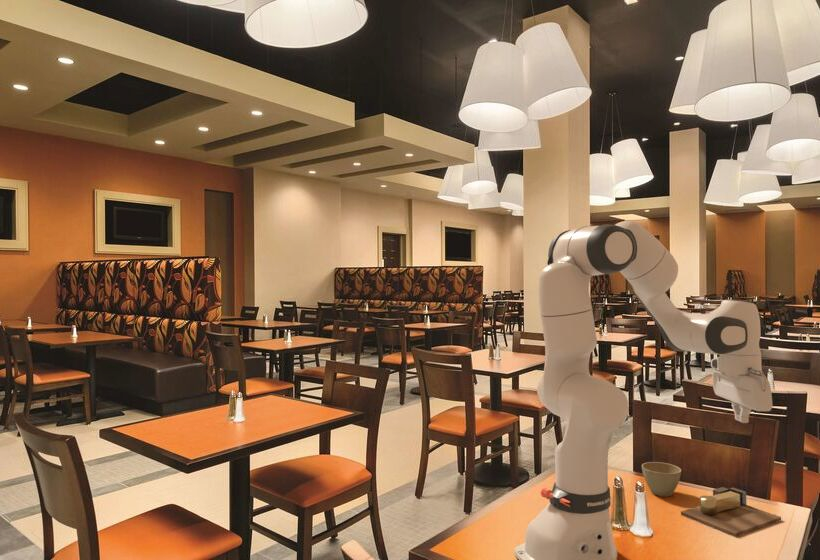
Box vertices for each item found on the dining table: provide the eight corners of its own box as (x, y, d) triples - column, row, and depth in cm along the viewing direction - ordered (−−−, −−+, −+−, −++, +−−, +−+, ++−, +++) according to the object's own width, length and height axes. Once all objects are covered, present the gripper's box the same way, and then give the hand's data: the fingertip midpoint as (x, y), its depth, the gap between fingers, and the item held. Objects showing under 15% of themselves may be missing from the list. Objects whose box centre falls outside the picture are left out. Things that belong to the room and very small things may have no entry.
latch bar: (709, 515, 135) (709, 502, 135) (697, 510, 138) (696, 497, 138) (742, 506, 140) (741, 493, 140) (728, 502, 143) (728, 489, 143)
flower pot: (677, 503, 146) (676, 476, 146) (637, 495, 152) (637, 469, 152) (685, 491, 154) (684, 465, 154) (647, 484, 160) (646, 459, 160)
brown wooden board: (735, 536, 126) (735, 533, 126) (680, 514, 139) (680, 511, 139) (781, 520, 134) (781, 517, 134) (725, 500, 147) (725, 497, 147)
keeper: (731, 509, 139) (731, 496, 139) (713, 502, 144) (712, 489, 144) (746, 505, 142) (746, 491, 142) (727, 498, 146) (727, 485, 146)
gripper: (779, 371, 125) (781, 432, 125) (731, 359, 145) (733, 412, 145) (750, 372, 125) (752, 433, 125) (707, 359, 146) (708, 412, 145)
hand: (741, 421), depth 135 cm, fingers closed
